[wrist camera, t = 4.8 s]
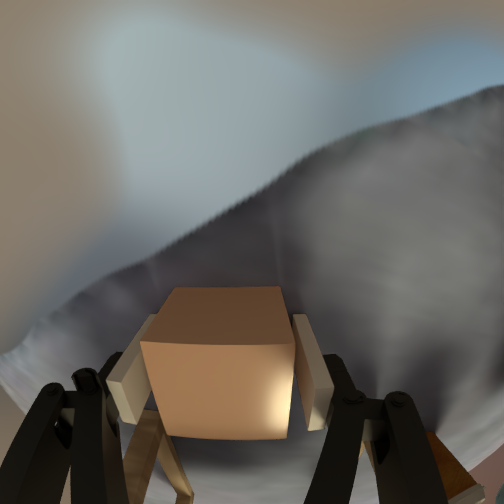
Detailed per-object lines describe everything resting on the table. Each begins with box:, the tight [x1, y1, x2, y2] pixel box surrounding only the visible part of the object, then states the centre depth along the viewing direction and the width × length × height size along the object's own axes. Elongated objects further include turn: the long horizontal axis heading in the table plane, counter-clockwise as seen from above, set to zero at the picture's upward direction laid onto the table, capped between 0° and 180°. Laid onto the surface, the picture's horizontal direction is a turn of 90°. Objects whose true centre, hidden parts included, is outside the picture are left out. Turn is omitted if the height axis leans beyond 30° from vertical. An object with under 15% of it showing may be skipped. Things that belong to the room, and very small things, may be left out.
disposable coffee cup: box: [426, 432, 485, 504], centre depth 15 cm, size 10×10×12 cm
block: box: [140, 286, 296, 440], centre depth 13 cm, size 6×6×6 cm
